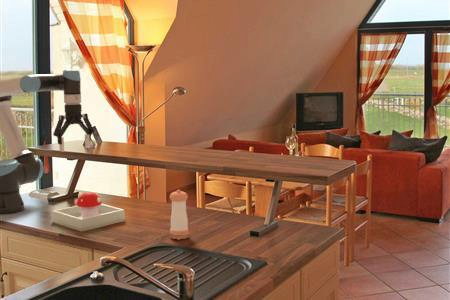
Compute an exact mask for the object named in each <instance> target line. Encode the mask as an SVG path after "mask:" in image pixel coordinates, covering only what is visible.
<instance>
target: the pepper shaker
mask: <svg viewBox="0 0 450 300" xmlns="http://www.w3.org/2000/svg"><path fill="white" fill-rule="evenodd" d="M188 198H189V196H188V194H187V192H185V191H181V190H180V189H177V190H176V191H173V192H171V193H170V195H169V199H170V201H171V216H170V229H169V235H170V234H173V235H186V234H188V233H189V231H190V229H189V228H188V227H189V226H188V225H189V222H188V221H189V219H188V214H187V200H188ZM189 234H190V233H189Z"/></svg>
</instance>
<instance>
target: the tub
mask: <svg viewBox="0 0 450 300" xmlns="http://www.w3.org/2000/svg"><path fill="white" fill-rule="evenodd" d="M98 209H99V211H98V215H96V216H91V217H87V218H83V219H82V216H81V212H80V211H81V207H78V206H77V205H73V206H69V207H64V208H59V209H54V210H52V211H51V215H52V223H55V224H57V225H60V226H63V227H67V228H69V229H73V230H75V231H78V232H85V231H88V230H89V231H90V230H93V229H98V228H101V227H102V228H103V227H105V226H109V225H113V224H118V223H122V222H126V221H125V220H126V219H125V218H126V217H125V209H123V208H119V207H115V206H113V205H108V204H105V203H102V204H101V205H99V206H98Z"/></svg>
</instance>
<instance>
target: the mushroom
mask: <svg viewBox="0 0 450 300" xmlns="http://www.w3.org/2000/svg"><path fill="white" fill-rule="evenodd" d="M77 197H78V198H77V201H76V205H75V206H78V207H81V211H80V212H81V216H82V219H83V218H87V217H91V216H96V215H98V211H99V209H98V206H99V205H101V204H103V202H102V199H101V197H100V196H99V194H98V193H97V192H91V191H87V192H84V193H83V192H79V193H78V194H77Z"/></svg>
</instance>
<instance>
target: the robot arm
mask: <svg viewBox="0 0 450 300" xmlns="http://www.w3.org/2000/svg"><path fill="white" fill-rule="evenodd" d="M81 81H82V80H81V72H80V70H78V69H63V70H62V73H60V74H57V73H55V74H54V73H46V74H32V73H31V74H26V75H23V76H19V77H18V76H17V77H10V78H5V79H0V133H1V136H2V138H3V141H4V143H5V146H6V148H7V150H8V153H9V155H10V158H9V159H8V158H7V159H2V160H0V215H7V214H14V213H19V212H22V211H24V210H25V203H24V200H23V199H22V196H21V193H20V186H22V185H26V184H32V183H34V182H36V181H39V180H40V179H41V178H42V177H43V174H44V171H45V168H44V163H43V160H41V159H40V158H39V157H35V155H34V153H33V151H30V150H29V149H28V146H27V144H26V141H25V139H24V136H23V135H22V132H21V129H20V127H19V124H18V122H17V120H16V118H15V115H14V112H13V110H12V108H11V105H12V99H13V96H16V95H21V94H29V93H36V92H38V93H39V92H52V91H53V92H54V91H57V92H58V91H62V92H63V103H64V115H63V114H61V115H60V114H59V115H58V121H57V123H56V126H55V128H54V131H53V133H52V134H53V135H52V136H54V137H56V138H57V144H58V147H59V152H65V139H64V138H65V137H63V136H64V134H65V133H66V131H67V130H68V128H69V126H71V125H78V126H79V127H80V128H81V129H82V130H83V132H85V133H84V148H85V149H90V148H91V146H90V143H91V142H90V141H91V140H92V139H91V136H92V134H93V133H95V129H94V127H93V125H92V123H91V121H90V119H89V116H88V113H86V112H84V113H82V112H83V111H82V104H81V103H82V91H81V89H82V87H81ZM82 119H83V120H82Z"/></svg>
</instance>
